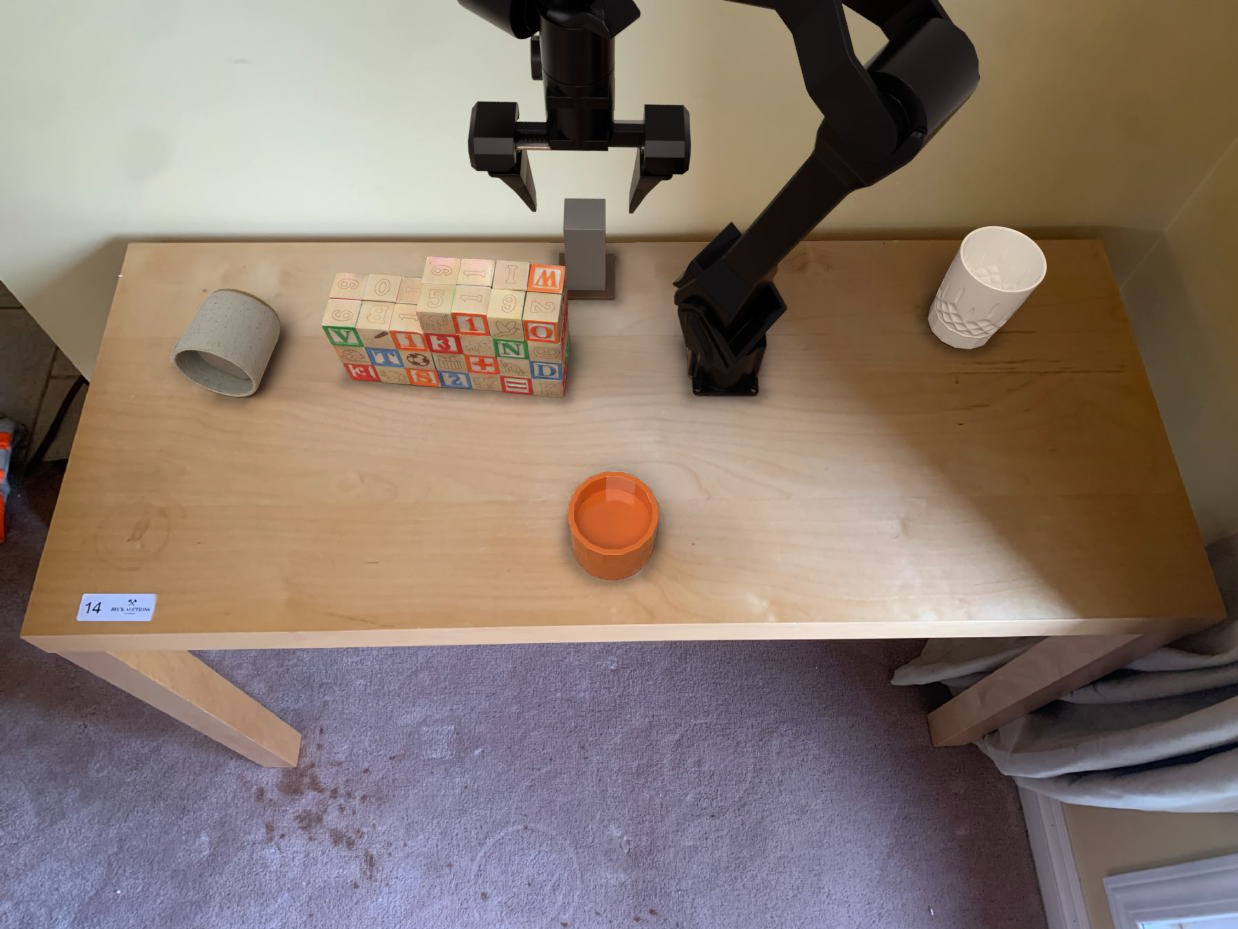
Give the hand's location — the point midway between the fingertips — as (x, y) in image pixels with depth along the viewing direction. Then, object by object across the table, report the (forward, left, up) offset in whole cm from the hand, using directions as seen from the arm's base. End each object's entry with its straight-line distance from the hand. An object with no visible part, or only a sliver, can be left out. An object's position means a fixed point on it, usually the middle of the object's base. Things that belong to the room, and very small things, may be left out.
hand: (582, 209), depth 75 cm
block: (0, 0, -9) cm, 9 cm away
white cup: (-39, +6, -10) cm, 41 cm away
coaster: (0, 0, -10) cm, 10 cm away
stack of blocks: (+12, +11, -10) cm, 19 cm away
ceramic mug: (+35, +12, -10) cm, 38 cm away
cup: (-3, +30, -10) cm, 32 cm away
